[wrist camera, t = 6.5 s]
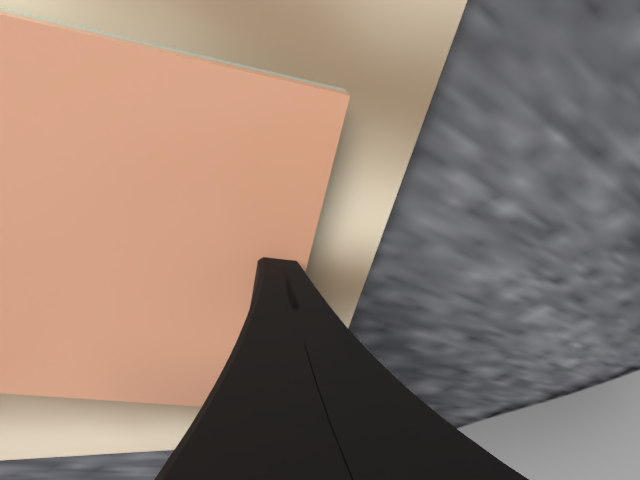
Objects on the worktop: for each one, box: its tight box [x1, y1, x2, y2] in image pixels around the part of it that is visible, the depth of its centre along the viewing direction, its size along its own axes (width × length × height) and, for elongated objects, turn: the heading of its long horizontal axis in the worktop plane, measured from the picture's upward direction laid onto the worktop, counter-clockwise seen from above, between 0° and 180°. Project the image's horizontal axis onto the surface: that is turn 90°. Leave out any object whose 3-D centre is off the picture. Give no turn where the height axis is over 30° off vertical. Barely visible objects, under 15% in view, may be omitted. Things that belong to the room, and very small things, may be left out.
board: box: [0, 0, 467, 460], centre depth 9 cm, size 20×19×1 cm
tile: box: [0, 8, 350, 407], centre depth 9 cm, size 10×8×1 cm
